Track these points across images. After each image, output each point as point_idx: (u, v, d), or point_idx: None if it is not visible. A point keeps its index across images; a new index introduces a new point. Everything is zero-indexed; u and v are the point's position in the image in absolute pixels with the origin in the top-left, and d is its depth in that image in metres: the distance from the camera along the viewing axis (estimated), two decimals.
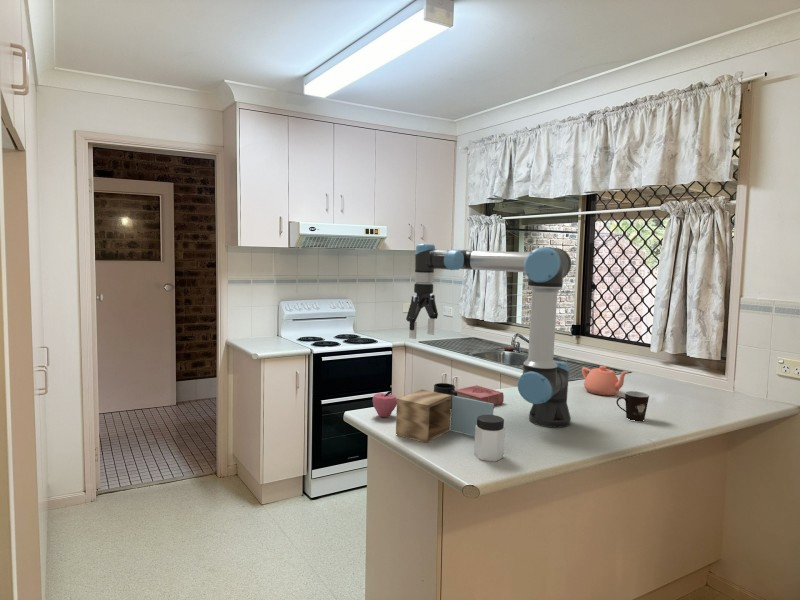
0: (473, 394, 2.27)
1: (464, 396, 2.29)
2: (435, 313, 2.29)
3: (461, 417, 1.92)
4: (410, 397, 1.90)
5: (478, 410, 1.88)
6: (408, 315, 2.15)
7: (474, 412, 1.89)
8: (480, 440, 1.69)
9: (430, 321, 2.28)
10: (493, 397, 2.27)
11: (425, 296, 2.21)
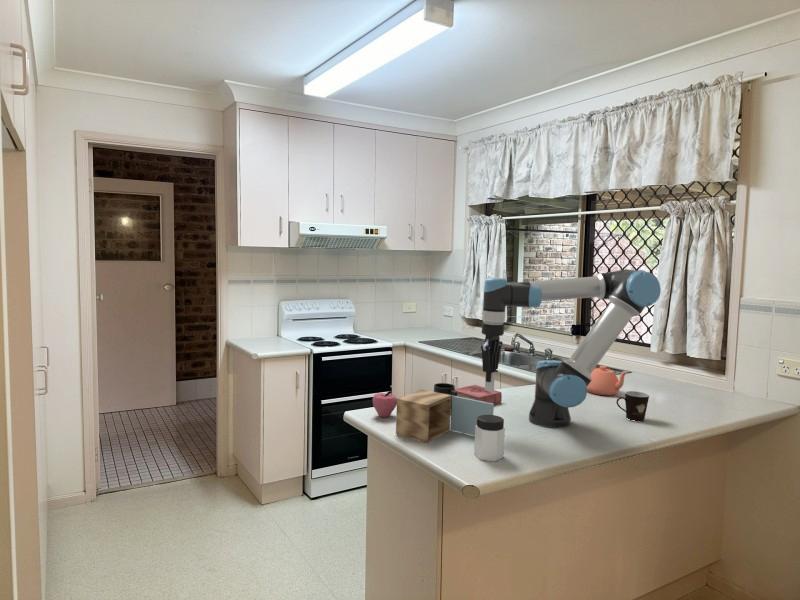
0: (471, 393, 2.28)
1: (462, 395, 2.30)
2: None
3: (461, 417, 1.92)
4: (410, 397, 1.90)
5: (478, 410, 1.88)
6: (484, 367, 1.90)
7: (474, 412, 1.89)
8: (480, 440, 1.69)
9: None
10: (491, 397, 2.28)
11: (495, 338, 1.91)
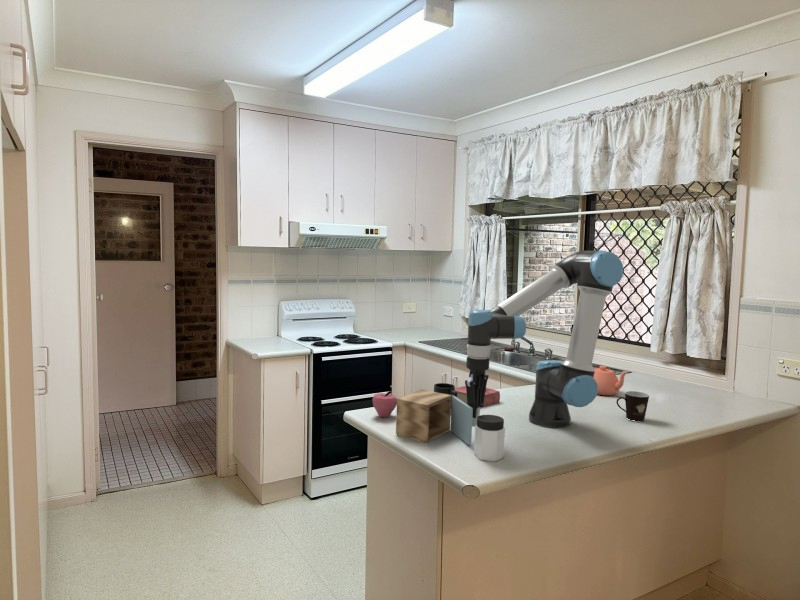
0: None
1: (461, 395, 2.31)
2: None
3: (455, 418, 1.90)
4: (410, 397, 1.90)
5: (463, 413, 1.84)
6: (468, 402, 1.83)
7: (461, 414, 1.86)
8: (480, 440, 1.69)
9: None
10: (489, 396, 2.29)
11: (480, 372, 1.84)
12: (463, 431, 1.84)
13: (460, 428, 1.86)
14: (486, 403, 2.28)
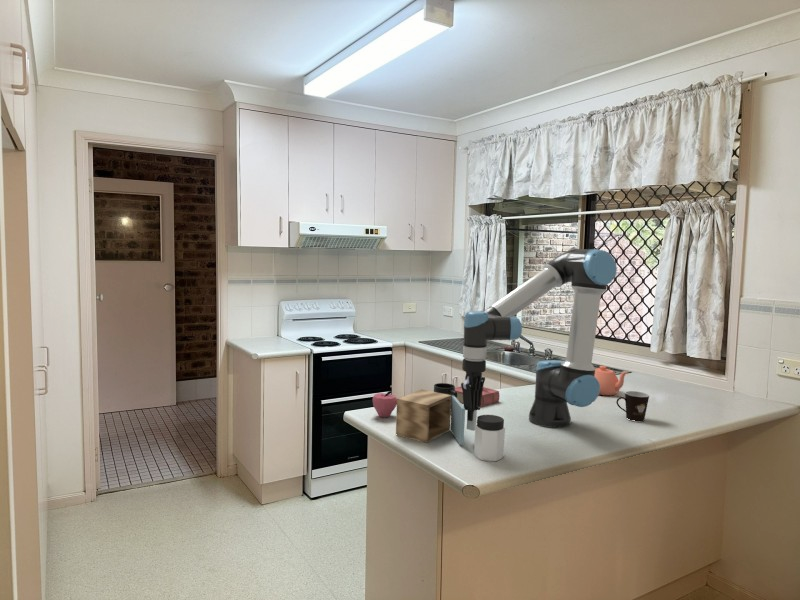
0: None
1: (460, 395, 2.31)
2: (477, 403, 1.84)
3: (453, 418, 1.90)
4: (410, 397, 1.90)
5: (458, 413, 1.84)
6: (465, 405, 1.80)
7: (457, 414, 1.85)
8: (480, 440, 1.69)
9: None
10: (488, 396, 2.29)
11: (476, 375, 1.81)
12: (457, 431, 1.84)
13: (456, 428, 1.86)
14: (485, 403, 2.28)
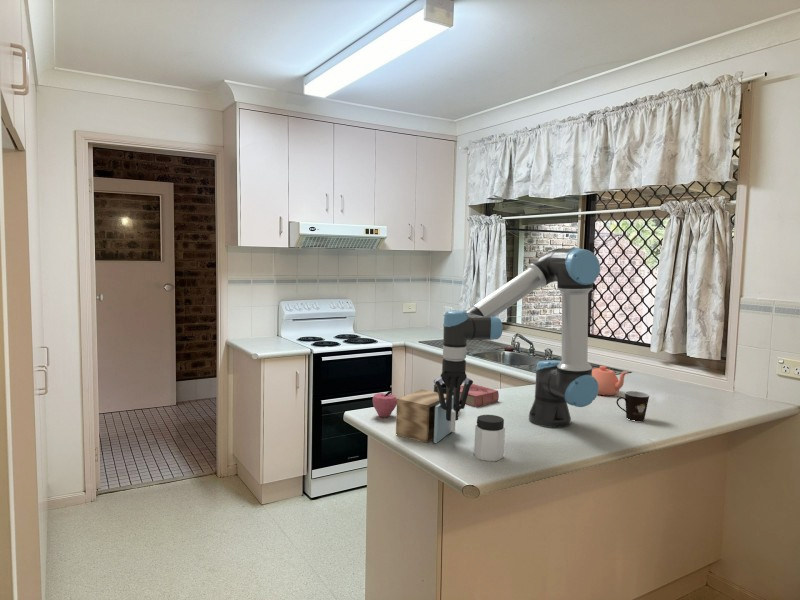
0: (468, 392, 2.30)
1: None
2: (459, 404, 1.81)
3: None
4: (410, 397, 1.90)
5: None
6: (440, 403, 1.81)
7: None
8: (480, 440, 1.69)
9: None
10: (488, 395, 2.30)
11: (454, 375, 1.80)
12: None
13: None
14: (485, 402, 2.29)
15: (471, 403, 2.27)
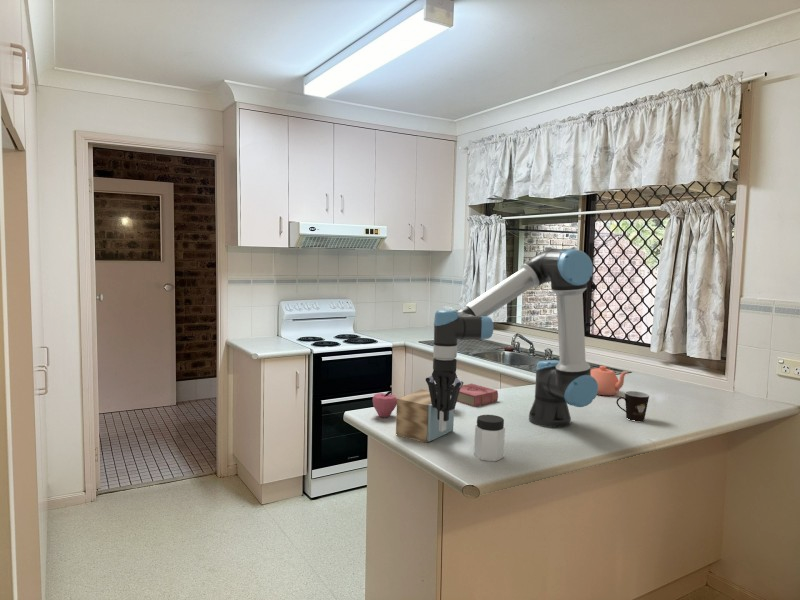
0: (468, 392, 2.30)
1: (459, 394, 2.32)
2: (447, 405, 1.79)
3: None
4: (410, 397, 1.90)
5: None
6: None
7: None
8: (480, 440, 1.69)
9: None
10: (487, 395, 2.30)
11: (442, 374, 1.79)
12: None
13: None
14: (484, 402, 2.29)
15: (470, 403, 2.28)
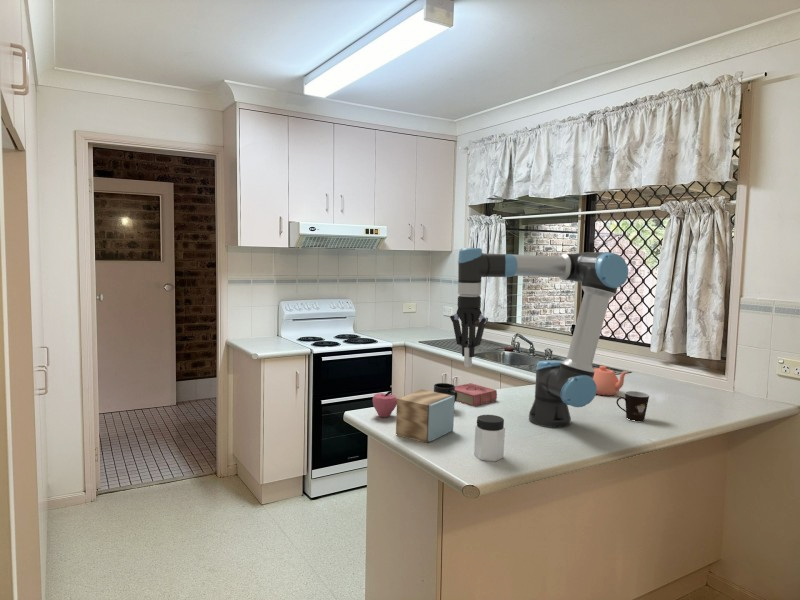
0: (467, 392, 2.31)
1: (458, 394, 2.33)
2: (472, 342, 1.82)
3: None
4: (410, 397, 1.90)
5: None
6: None
7: None
8: (480, 440, 1.69)
9: None
10: (486, 395, 2.31)
11: (466, 311, 1.82)
12: None
13: None
14: (483, 402, 2.30)
15: (469, 402, 2.28)
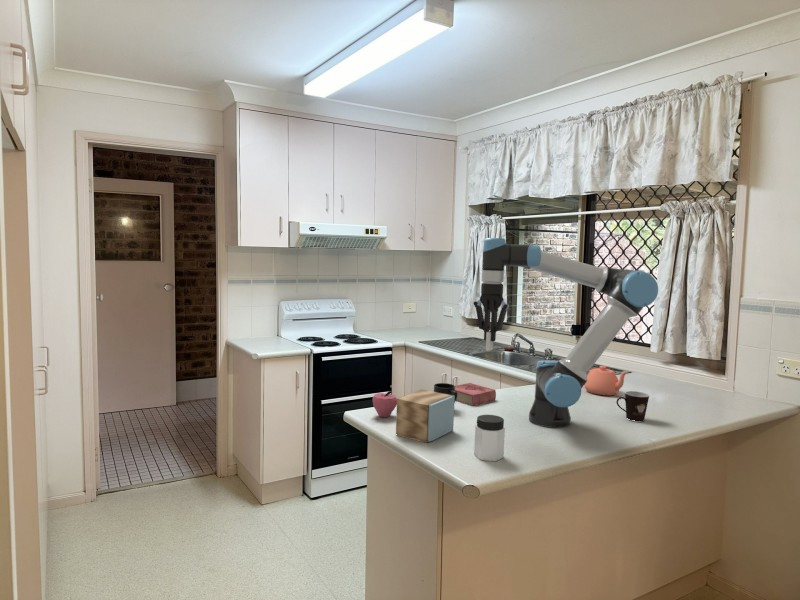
0: (466, 391, 2.31)
1: (457, 393, 2.33)
2: (494, 326, 1.93)
3: None
4: (410, 397, 1.90)
5: None
6: None
7: None
8: (480, 440, 1.69)
9: None
10: (485, 394, 2.31)
11: (489, 297, 1.93)
12: None
13: None
14: (482, 401, 2.30)
15: (468, 402, 2.29)
